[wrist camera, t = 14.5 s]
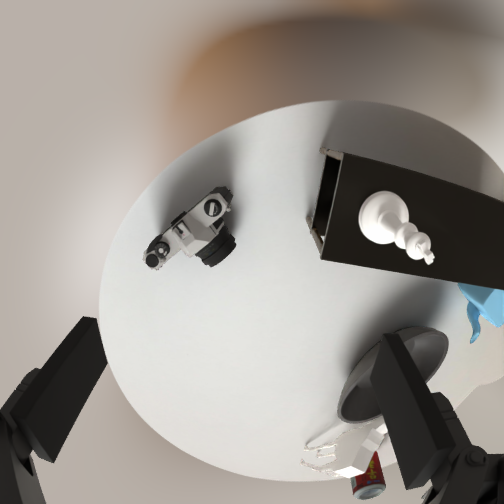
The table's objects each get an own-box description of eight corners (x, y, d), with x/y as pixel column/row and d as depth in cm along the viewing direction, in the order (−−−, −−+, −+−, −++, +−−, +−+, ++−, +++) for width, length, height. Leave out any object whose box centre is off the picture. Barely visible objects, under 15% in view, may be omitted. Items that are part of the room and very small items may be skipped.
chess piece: (393, 181, 27) (447, 206, 18) (414, 225, 28) (468, 266, 19) (349, 208, 28) (386, 246, 19) (372, 252, 29) (412, 303, 20)
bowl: (314, 383, 52) (318, 409, 46) (409, 294, 45) (424, 315, 40) (359, 407, 54) (365, 431, 49) (446, 330, 48) (462, 350, 42)
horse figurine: (327, 417, 67) (424, 390, 51) (311, 480, 55) (419, 468, 39) (314, 409, 66) (413, 380, 50) (296, 473, 54) (408, 461, 38)
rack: (305, 221, 42) (320, 259, 30) (319, 146, 39) (344, 153, 26) (461, 253, 43) (509, 291, 30) (479, 192, 39) (535, 215, 27)
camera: (190, 279, 46) (178, 308, 38) (151, 240, 44) (131, 262, 36) (258, 219, 44) (261, 237, 35) (218, 176, 42) (211, 183, 33)
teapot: (495, 209, 40) (534, 228, 30) (525, 260, 42) (559, 283, 33) (426, 293, 45) (455, 327, 36) (464, 333, 48) (490, 366, 38)
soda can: (346, 462, 62) (353, 504, 50) (345, 447, 59) (354, 492, 48) (375, 455, 61) (385, 496, 49) (376, 440, 58) (388, 483, 47)
